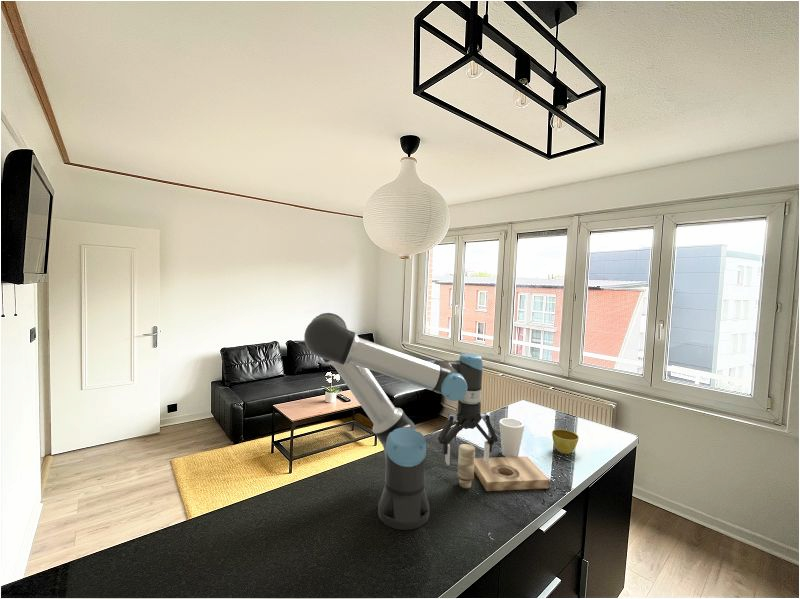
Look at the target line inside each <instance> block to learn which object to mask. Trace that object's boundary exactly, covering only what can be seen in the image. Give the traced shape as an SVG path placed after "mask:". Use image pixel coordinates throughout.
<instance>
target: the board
mask: <svg viewBox="0 0 800 599" xmlns="http://www.w3.org/2000/svg"><path fill="white" fill-rule="evenodd" d="M474 475H476V476H477V478H478V479H479V481H480V483H481V484H482V486H483V488H484V489H485V491H486V492H493V491H494V492H495V491H514V490H515V491H516V490H520V491H521V490H537V489H539V490H540V489H549V488H550V478H548V476H547V475H546V474H544V472H543V471H542V470H540V468H539V467H538V466H537V465H536V464H535V463H534V462H533V461H532V460H531V458H529V457H528V456H525V455H524V456H518V457H506V456H501V457H500V456H498V457H489V463H486V462H485V460H484V457H475V463H474Z"/></svg>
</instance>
